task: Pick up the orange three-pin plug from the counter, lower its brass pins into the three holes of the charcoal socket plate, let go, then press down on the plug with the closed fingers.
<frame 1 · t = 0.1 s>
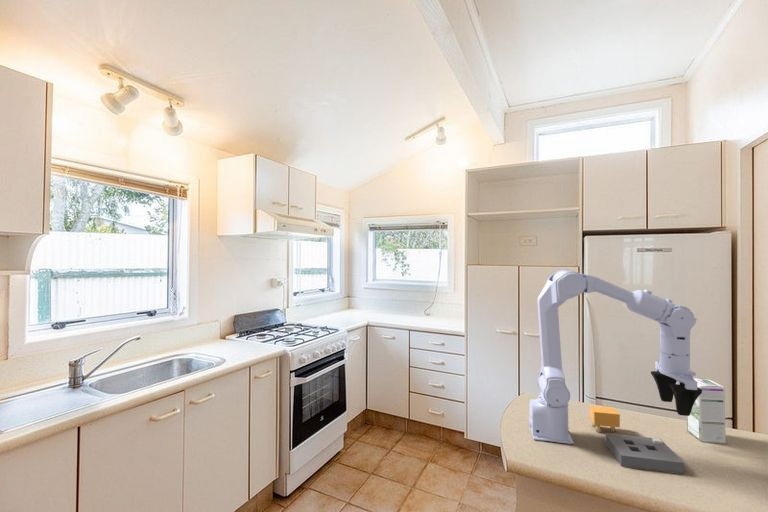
hand: (674, 407, 86), 10 cm above the worktop, tool pointing down, fingers open, 7 cm apart
syrup box: (705, 437, 91), on the worktop
plug: (604, 429, 95), on the worktop
socket: (641, 457, 82), on the worktop
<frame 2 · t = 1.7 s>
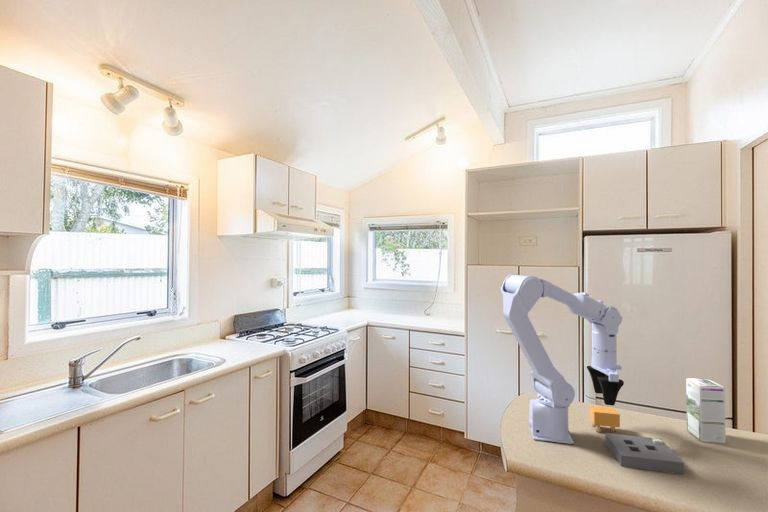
hand: (604, 398, 95), 9 cm above the worktop, tool pointing down, fingers open, 7 cm apart
nothing on the worktop moved.
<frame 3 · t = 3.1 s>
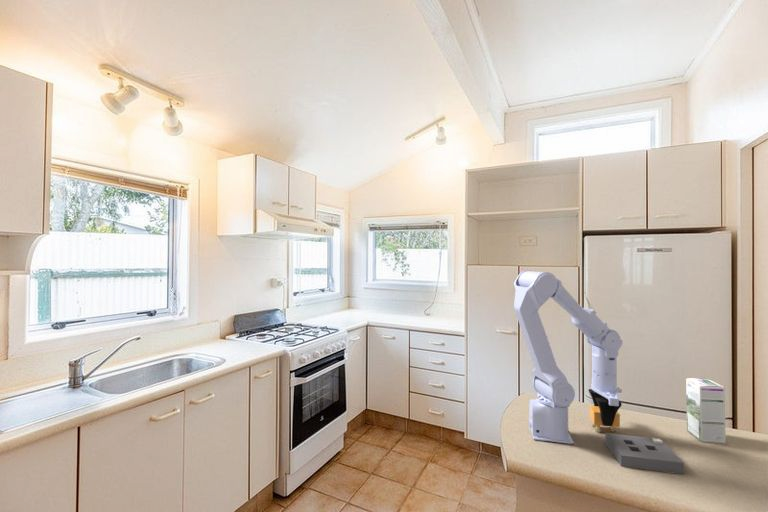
hand: (604, 421, 95), 2 cm above the worktop, tool pointing down, fingers closed on plug, 4 cm apart
plug: (604, 429, 95), on the worktop, touching gripper
everything else where it was.
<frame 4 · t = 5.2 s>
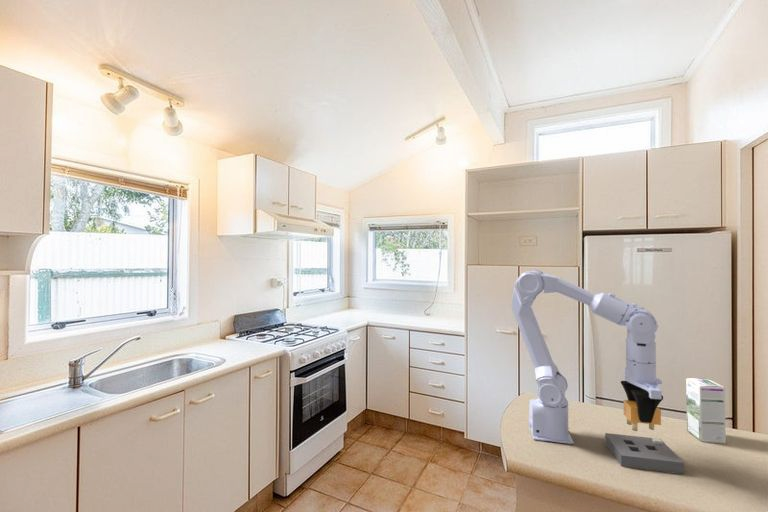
hand: (640, 417, 82), 9 cm above the worktop, tool pointing down, fingers closed on plug, 4 cm apart
plug: (641, 427, 82), point 7 cm above the worktop, touching gripper
everything else where it was.
when the fingers open (4 cm above the worktop, at t = 7.4 s): plug stays where it is, resting on socket.
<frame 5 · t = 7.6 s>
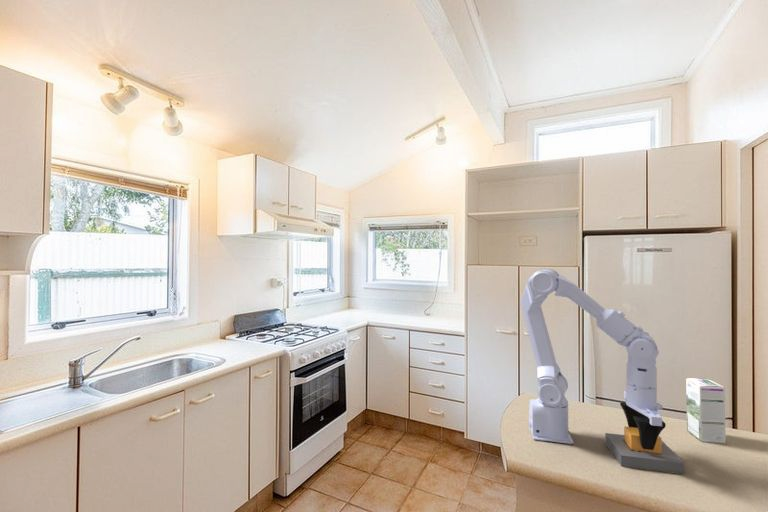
hand: (641, 441, 82), 4 cm above the worktop, tool pointing down, fingers open, 5 cm apart
plug: (642, 455, 82), resting on socket
everything else where it was.
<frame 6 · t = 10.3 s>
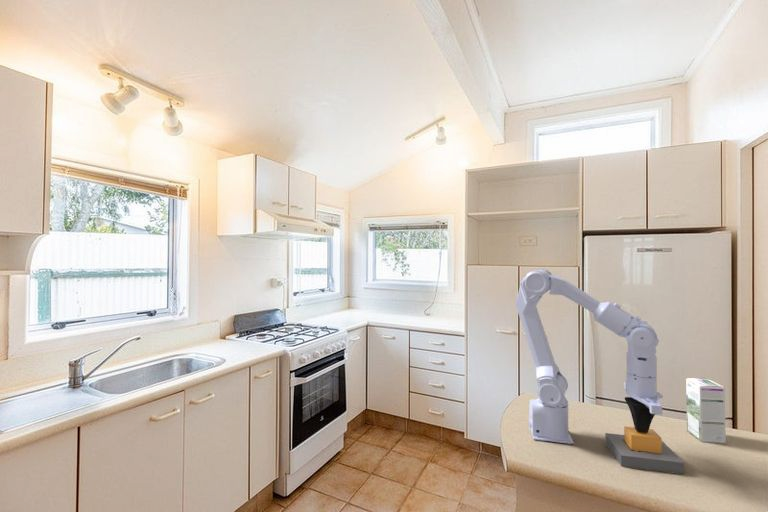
hand: (641, 431, 82), 6 cm above the worktop, tool pointing down, fingers closed
nothing on the worktop moved.
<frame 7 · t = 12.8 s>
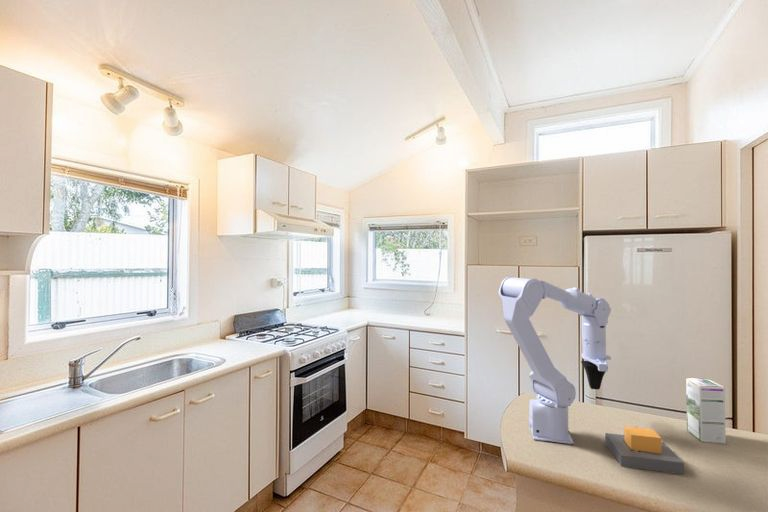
hand: (594, 388, 97), 10 cm above the worktop, tool pointing down, fingers closed
nothing on the worktop moved.
at the end: plug 0.2 cm off-centre on the socket, point 0.5 cm above the socket's base; plug tilted 0°; the gripper is holding nothing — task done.
